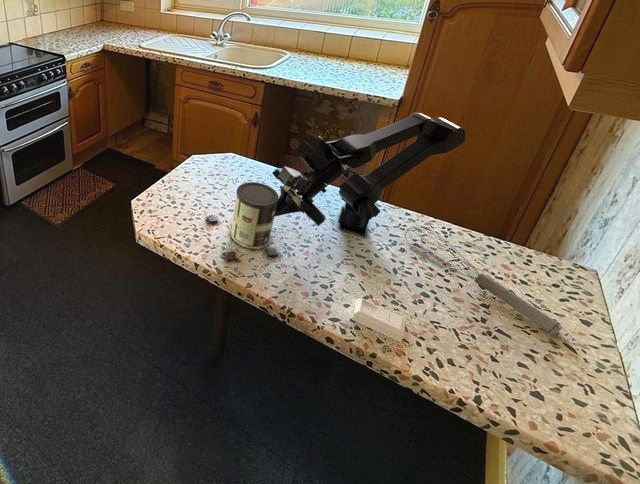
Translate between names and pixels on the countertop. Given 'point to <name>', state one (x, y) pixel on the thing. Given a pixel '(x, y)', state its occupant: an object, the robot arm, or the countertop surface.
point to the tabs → (231, 255)
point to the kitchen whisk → (501, 292)
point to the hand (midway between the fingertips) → (271, 215)
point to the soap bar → (379, 319)
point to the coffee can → (254, 215)
